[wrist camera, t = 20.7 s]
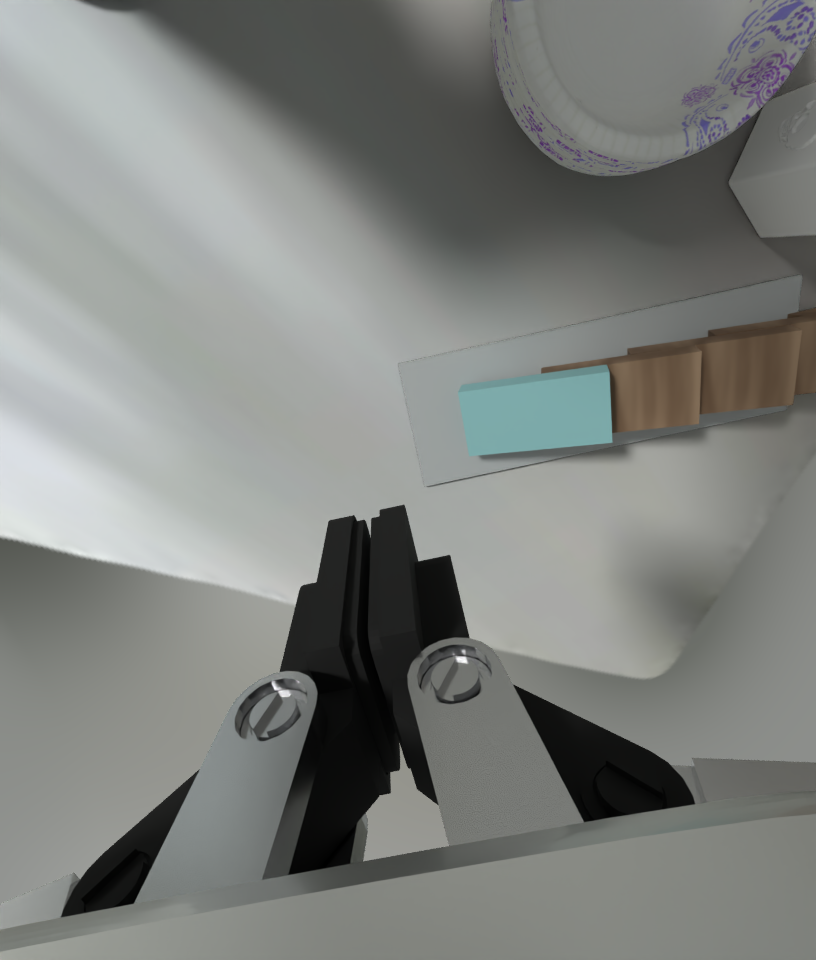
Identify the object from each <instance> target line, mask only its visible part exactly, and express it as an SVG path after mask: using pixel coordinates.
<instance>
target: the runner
mask: <svg viewBox="0 0 816 960" xmlns="http://www.w3.org/2000/svg"><path fill="white" fill-rule="evenodd" d="M802 277H803V275H795V276H790V277H786V278H781V279H777V280H772V281H768V282H763V283H759V284H754V285H750V286H745V287H741V288H736V289H732V290H727V291H723V292H718V293H714V294H709V295H705V296H700V297H695V298H691V299H686V300H682V301H677V302H673V303H668V304H664V305H659V306H655V307H650V308H646V309H641V310H637V311H632V312H628V313H623V314H619V315H614V316H610V317H605V318H601V319H596V320H592V321H587V322H583V323H578V324H574V325H569V326H565V327H560V328H556V329H551V330H547V331H542V332H538V333H533V334H529V335H524V336H520V337H515V338H511V339H506V340H502V341H497V342H493V343H488V344H484V345H479V346H475V347H470V348H466V349H461V350H457V351H452V352H448V353H443V354H439V355H434V356H430V357H425V358H421V359H416V360H412V361H407V362H403V363H398V367H399V372H400V376H401V381H402V385H403V390H404V395H405V399H406V404H407V408H408V413H409V418H410V422H411V427H412V431H413V436H414V441H415V445H416V450H417V455H418V459H419V464H420V468H421V473H422V478H423V482H424V487H425V486H430V485H435V484H440V483H444V482H449V481H454V480H458V479H463V478H468V477H473V476H477V475H482V474H487V473H492V472H496V471H501V470H506V469H510V468H515V467H520V466H525V465H529V464H534V463H539V462H543V461H548V460H553V459H558V458H562V457H567V456H572V455H577V454H581V453H586V452H591V451H595V450H600V449H605V448H610V447H614V446H619V445H624V444H629V443H633V442H638V441H643V440H647V439H652V438H657V437H662V436H666V435H671V434H676V433H680V432H685V431H690V430H695V429H699V428H704V427H709V426H714V425H718V424H723V423H728V422H732V421H737V420H742V419H747V418H751V417H756V416H761V415H766V414H770V413H775V412H780V411H784V410H787V406H778V407H768V408H758V409H748V410H738V411H728V412H719V413H709V414H699V424H695V425H685V426H675V427H666V428H656V429H647V430H637V431H627V432H618V433H612V443H605V444H594V445H583V446H573V447H562V448H552V449H541V450H531V451H520V452H509V453H499V454H488V455H478V456H469V453H468V447H467V442H466V436H465V430H464V425H463V419H462V413H461V408H460V402H459V396H458V391H459V389H460V387H461V385H465V384H472V383H479V382H487V381H494V380H501V379H508V378H515V377H522V376H529V375H536V374H541V368H543V367H550V366H557V365H564V364H570V363H577V362H584V361H591V360H597V359H604V358H611V357H618V356H625V355H627V348H634V347H641V346H648V345H655V344H662V343H669V342H675V341H682V340H689V339H696V338H703V337H708V330H713V329H720V328H726V327H733V326H740V325H746V324H753V323H760V322H766V321H773V320H780V319H787V316H788V314H790V313H795V312H798V310H799V302H800V293H801V285H802Z"/></svg>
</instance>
